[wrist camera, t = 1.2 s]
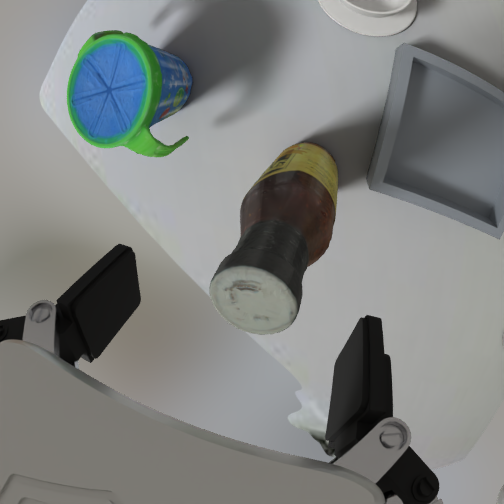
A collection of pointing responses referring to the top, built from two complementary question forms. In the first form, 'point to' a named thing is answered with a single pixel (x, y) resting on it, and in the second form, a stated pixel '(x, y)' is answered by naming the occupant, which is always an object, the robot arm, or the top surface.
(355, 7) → the teacup
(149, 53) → the snack cup
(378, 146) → the tray
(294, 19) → the top surface
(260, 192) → the sauce bottle
